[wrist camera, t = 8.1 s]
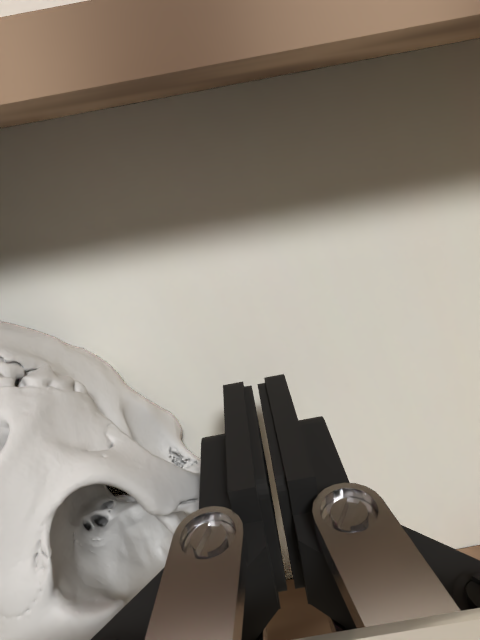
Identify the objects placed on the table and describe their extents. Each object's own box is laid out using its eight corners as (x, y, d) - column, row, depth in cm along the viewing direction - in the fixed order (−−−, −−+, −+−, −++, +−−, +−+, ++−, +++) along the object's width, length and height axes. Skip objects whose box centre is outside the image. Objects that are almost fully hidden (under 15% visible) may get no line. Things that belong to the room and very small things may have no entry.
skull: (76, 684, 15) (-793, 1202, 4) (48, 424, 18) (-429, 332, 8) (298, 618, 13) (-107, 1132, 3) (218, 353, 17) (-77, 123, 6)
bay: (692, -62, 10) (1091, -232, 6) (590, 547, 17) (727, 693, 13) (-324, 131, 10) (-753, 121, 6) (-9, 655, 18) (-88, 838, 13)
